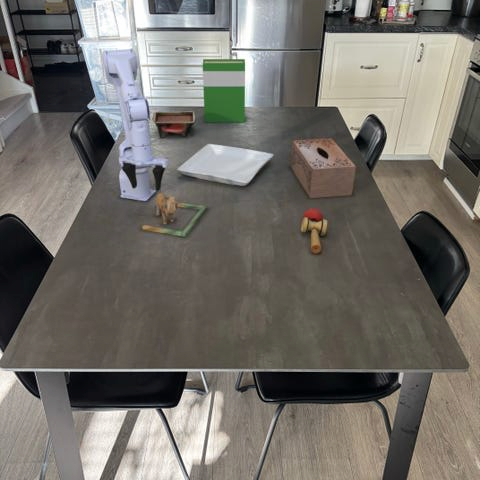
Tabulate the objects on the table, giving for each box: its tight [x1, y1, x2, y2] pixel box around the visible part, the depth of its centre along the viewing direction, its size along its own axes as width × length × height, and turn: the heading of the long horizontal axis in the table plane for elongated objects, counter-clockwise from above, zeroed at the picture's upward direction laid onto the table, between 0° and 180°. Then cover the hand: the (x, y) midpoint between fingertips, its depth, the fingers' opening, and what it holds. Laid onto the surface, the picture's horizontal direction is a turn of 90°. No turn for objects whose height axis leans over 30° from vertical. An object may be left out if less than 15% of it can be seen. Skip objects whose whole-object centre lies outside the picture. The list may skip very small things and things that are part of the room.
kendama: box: [300, 208, 328, 254], centre depth 155 cm, size 8×6×18 cm
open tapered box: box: [151, 110, 197, 139], centre depth 222 cm, size 14×18×10 cm
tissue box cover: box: [290, 137, 357, 199], centre depth 185 cm, size 26×14×10 cm, turn 10°
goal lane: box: [141, 201, 208, 238], centre depth 165 cm, size 14×18×1 cm
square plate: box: [176, 143, 274, 187], centre depth 193 cm, size 27×27×4 cm
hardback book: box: [202, 58, 246, 123], centre depth 231 cm, size 18×7×24 cm, turn 91°
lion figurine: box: [154, 192, 182, 225], centre depth 164 cm, size 15×5×9 cm, turn 33°
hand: (146, 188), depth 162 cm, fingers open, 7 cm apart
